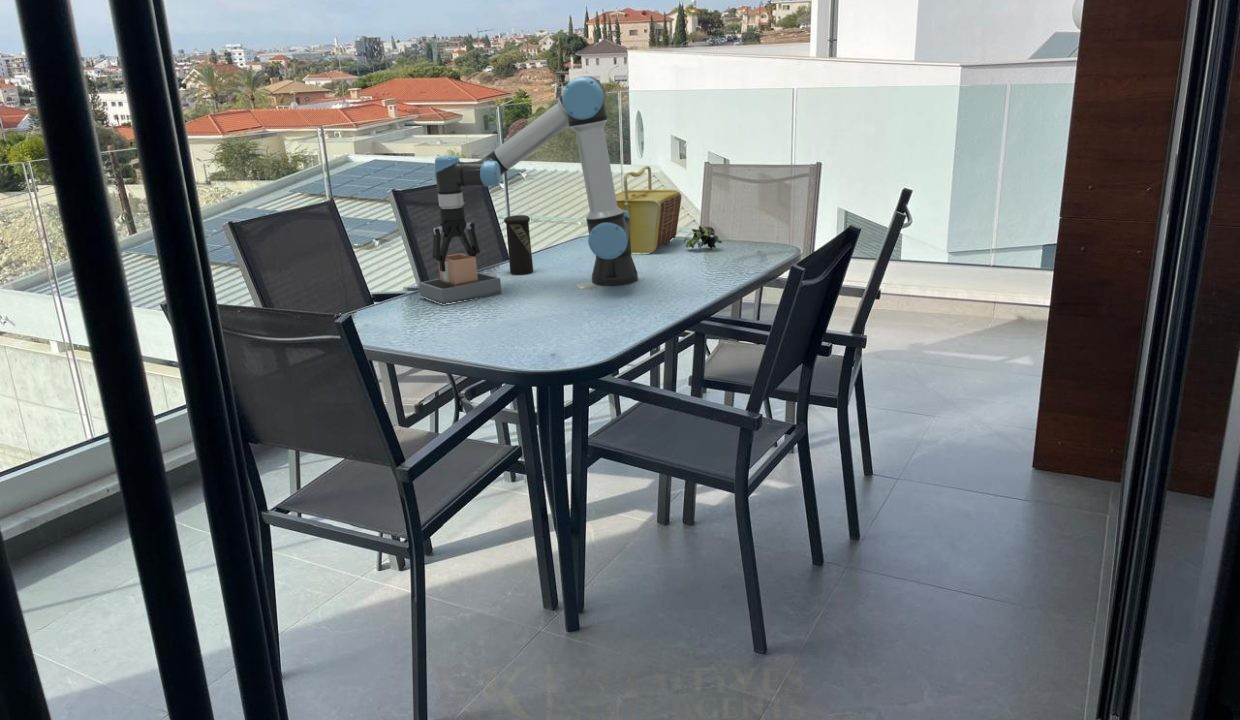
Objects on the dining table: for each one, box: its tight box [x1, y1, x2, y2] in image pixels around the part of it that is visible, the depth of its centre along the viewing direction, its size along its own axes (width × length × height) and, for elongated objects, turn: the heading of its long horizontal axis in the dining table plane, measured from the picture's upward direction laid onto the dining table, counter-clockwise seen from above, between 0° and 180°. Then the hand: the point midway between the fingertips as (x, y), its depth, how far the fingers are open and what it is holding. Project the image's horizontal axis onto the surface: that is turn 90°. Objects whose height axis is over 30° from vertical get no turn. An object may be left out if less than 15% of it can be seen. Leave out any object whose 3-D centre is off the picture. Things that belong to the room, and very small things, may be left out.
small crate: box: [437, 253, 478, 287], centre depth 288 cm, size 10×8×8 cm
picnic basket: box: [615, 165, 682, 254], centre depth 348 cm, size 29×26×30 cm
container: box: [503, 214, 534, 275], centre depth 317 cm, size 9×9×20 cm
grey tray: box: [418, 271, 503, 304], centre depth 290 cm, size 16×21×5 cm
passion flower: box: [683, 225, 723, 252], centre depth 339 cm, size 11×11×12 cm
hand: (458, 278), depth 289 cm, fingers closed on small crate, 8 cm apart
